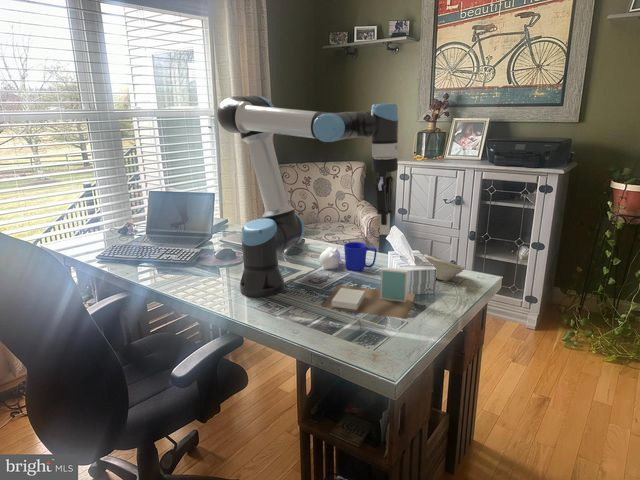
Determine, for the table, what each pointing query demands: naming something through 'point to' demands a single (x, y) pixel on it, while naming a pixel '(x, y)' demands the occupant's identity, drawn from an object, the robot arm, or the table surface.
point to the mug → (357, 256)
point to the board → (376, 303)
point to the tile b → (394, 284)
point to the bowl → (444, 268)
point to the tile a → (348, 298)
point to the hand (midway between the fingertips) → (384, 233)
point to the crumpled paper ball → (330, 258)
